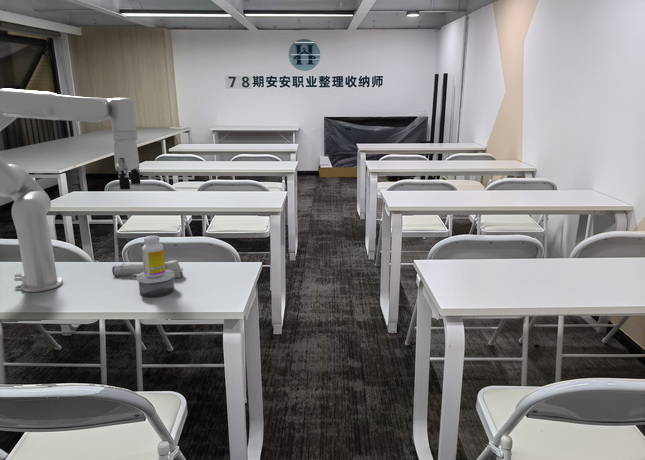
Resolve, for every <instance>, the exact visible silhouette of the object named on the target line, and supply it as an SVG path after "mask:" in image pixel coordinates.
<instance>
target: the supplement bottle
mask: <svg viewBox="0 0 645 460" xmlns="http://www.w3.org/2000/svg"><path fill="white" fill-rule="evenodd" d="M160 240H161V239H160V236H158V235H147V236H145V237H143V241H144V245H143V246H141V253H142V264H143V265H144V274H145V276H146V277H150V278H156V277H160V276H163V275H164V274H165V262H166V261H165V250H164V249H165V248H164V245H163V244H162V243H161V242H160Z"/></svg>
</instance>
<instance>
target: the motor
mask: <svg viewBox="0 0 645 460" xmlns="http://www.w3.org/2000/svg"><path fill="white" fill-rule="evenodd" d="M174 276H175V273H174V271H172V270H169V269H165V274H164V275H163V276H160V277H156V278H150V277H146V276H145V274H144V272H142V273H140V274H136V277H135V278H136V281H137V282H138V290H139V295H140V296H142V297H144V298H152V299H153V298H160V297H164V296H167V295H171V294H173V292H174V291H175V279H174V278H173V277H174Z"/></svg>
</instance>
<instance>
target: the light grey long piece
mask: <svg viewBox="0 0 645 460" xmlns="http://www.w3.org/2000/svg"><path fill="white" fill-rule="evenodd" d="M165 269H169V270H172V271H174V273H175V276H174V277H173V278H174V280H175V279H176V278H181V277H183V276H184V273H183V271H184V268H183V267H182V266H180V263H179V262H178V260H176V259H175V260H169V261H165ZM142 272H144V265H143V263H128V264H127V263H125V262H124V263H122V264H116V265H115V264H114V266H112V269H111V273H112V275H113V276H114V277H126V276H131V275H138V274H140V273H142Z"/></svg>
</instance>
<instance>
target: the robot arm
mask: <svg viewBox="0 0 645 460" xmlns="http://www.w3.org/2000/svg"><path fill="white" fill-rule="evenodd" d="M18 118H24V119H39V120H51V121H68V122H69V121H70V122H84V123H85V122H86V123H100V122H103V121H106V120H110V121H111V130H112V137H113V138H112V139H113V142H114V143H113V144H114V145H113V154H114V157H113V159H114V168H115V170H116V173H117V176H118V182H119V184H118V185H119V189H120V190H130V189H131V186H130V185H140V184H141V173H140V158H139V151H138V145H137V141H138V132H137V131H138V130H137V122H136V111H135V104H134V100H133V99H132V98H130V97H113V98H106V97H105V98H103V97H99V96H98V97H88V96H87V97H84V96H75V95H74V96H72V95H66V94H65V95H63V94H57V93H55V92H51V91H39V90H30V89H29V90H28V89H16V88H10V87H9V88H5V87H4V88H0V132H1V131H3V130H4V129H5V128H6V127H8V126H9V125H10V124H11V123H13V122H14V121H15V120H16V119H18ZM129 176H130V177H129ZM0 197H2V198H3V197H4V198H9V197H10V198H11V199H12V200H13V203H12V206H11V219H12V220H13V221H12V222H13V224H14V227H15V231H16V236H17V242H18V245H19V252H20V258H21V264H22V270H23V273H20V272H19V273H15V274H14V279H13V280H14V281H15V282H22V283H21V285H20V289H21V290H22V291H23V292H27V293H37V292H44V291H50V290H53V289H55V288H58V287H59V286H61V285H62V284H63V282H64V281H63V278H62V277H61V276H58V275H57V268H56V261H55V256H54V249H53V243H52V241H53V240H52V235H51V231H50V226H49V222H48V217H47V214H48V213H49V212H50V209H51V206H52V202H51V201H52V200H51V199H50V197H49V195H48V193H47V192H46V191H45V190H44V189H43V188H42V187H41V186H40V185H39V183H38V182H37V181H36V180H35V179H34V178H33V177H32V176H31V174H29V172H28V171H27V170H26V169H24V168H23V167H21V166H20V165H17V164H13V163H7V162H6V160H4V159H3V158H2V157H1V156H0Z"/></svg>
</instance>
